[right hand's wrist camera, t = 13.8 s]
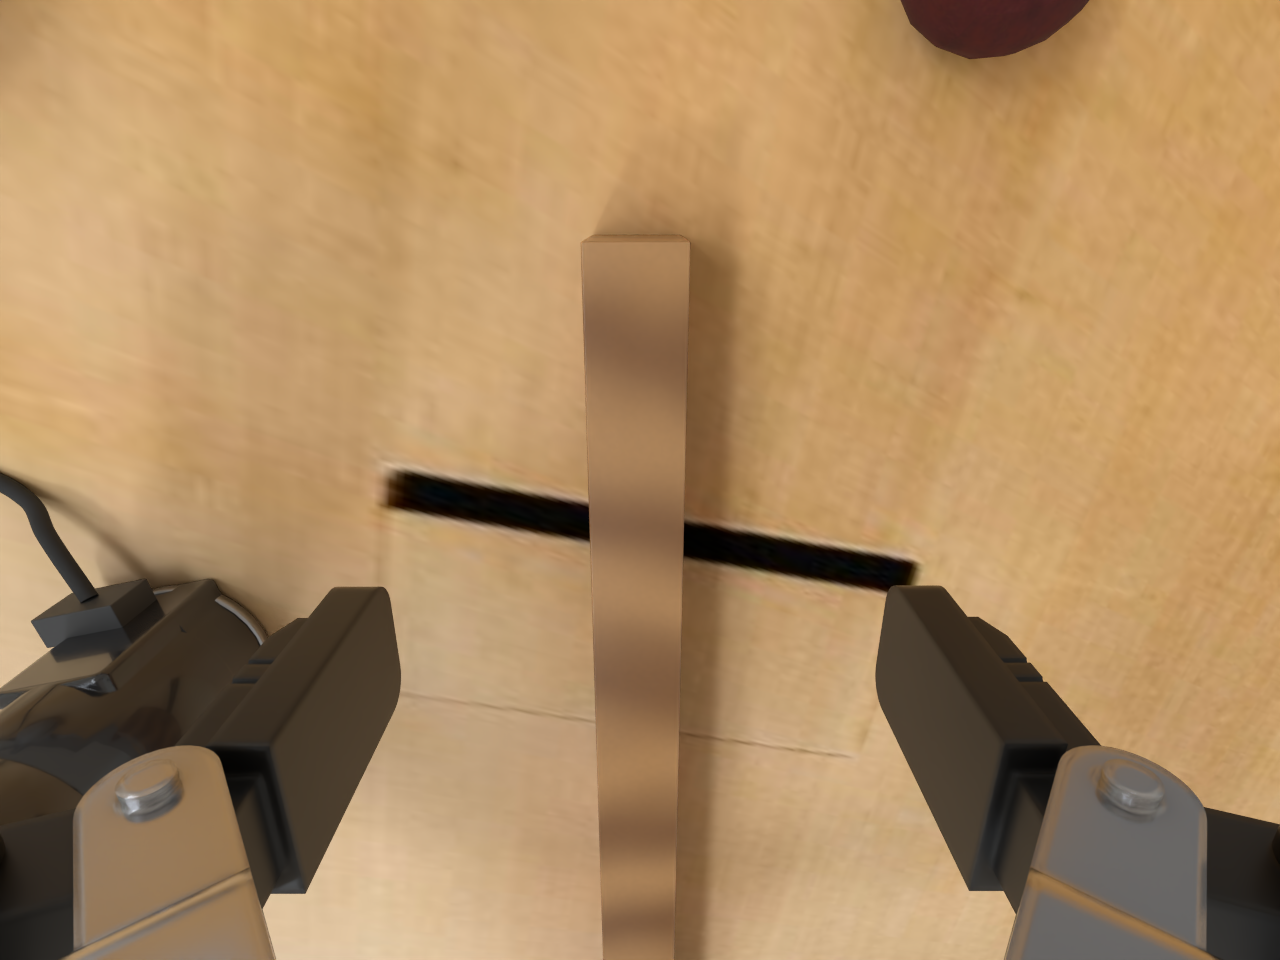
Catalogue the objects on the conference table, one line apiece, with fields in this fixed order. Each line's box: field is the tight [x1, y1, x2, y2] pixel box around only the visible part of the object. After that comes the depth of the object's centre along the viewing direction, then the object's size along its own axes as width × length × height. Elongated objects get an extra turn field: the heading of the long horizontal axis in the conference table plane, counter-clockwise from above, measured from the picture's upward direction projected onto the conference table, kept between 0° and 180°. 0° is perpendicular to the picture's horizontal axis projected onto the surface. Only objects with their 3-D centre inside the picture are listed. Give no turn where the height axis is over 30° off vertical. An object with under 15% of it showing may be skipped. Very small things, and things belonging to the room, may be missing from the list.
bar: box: [581, 235, 690, 960], centre depth 44 cm, size 64×5×7 cm, turn 0°
